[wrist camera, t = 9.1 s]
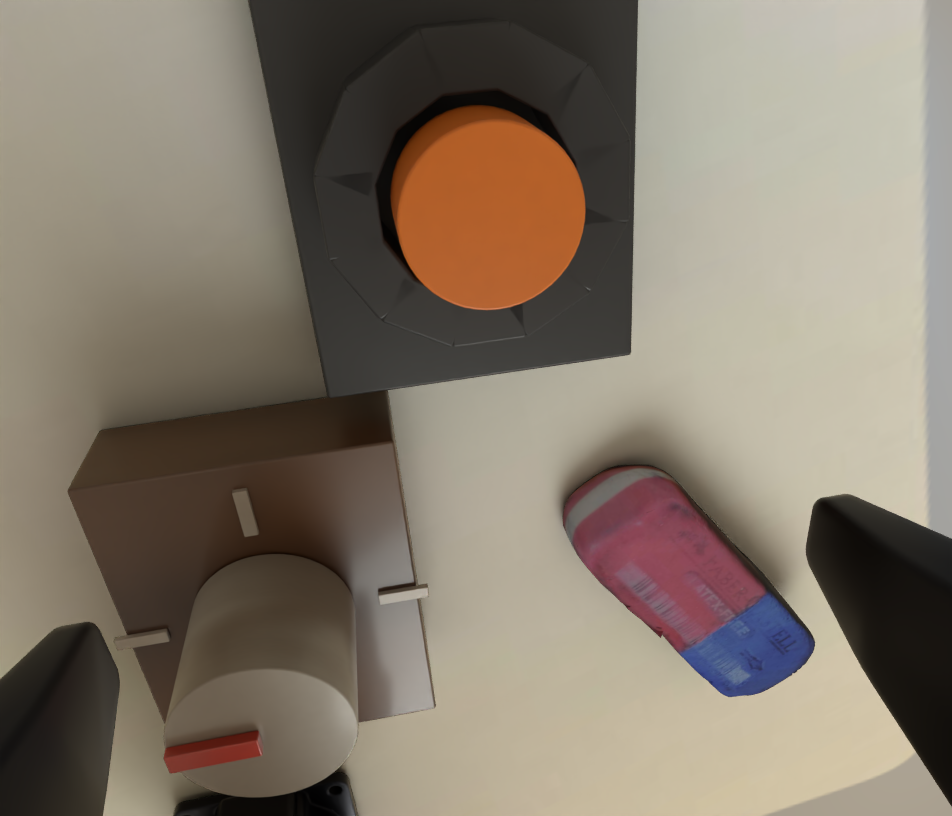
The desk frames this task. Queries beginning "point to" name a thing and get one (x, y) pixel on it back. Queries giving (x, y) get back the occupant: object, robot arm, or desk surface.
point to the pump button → (486, 207)
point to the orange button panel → (387, 132)
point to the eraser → (685, 579)
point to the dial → (265, 679)
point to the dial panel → (259, 528)
